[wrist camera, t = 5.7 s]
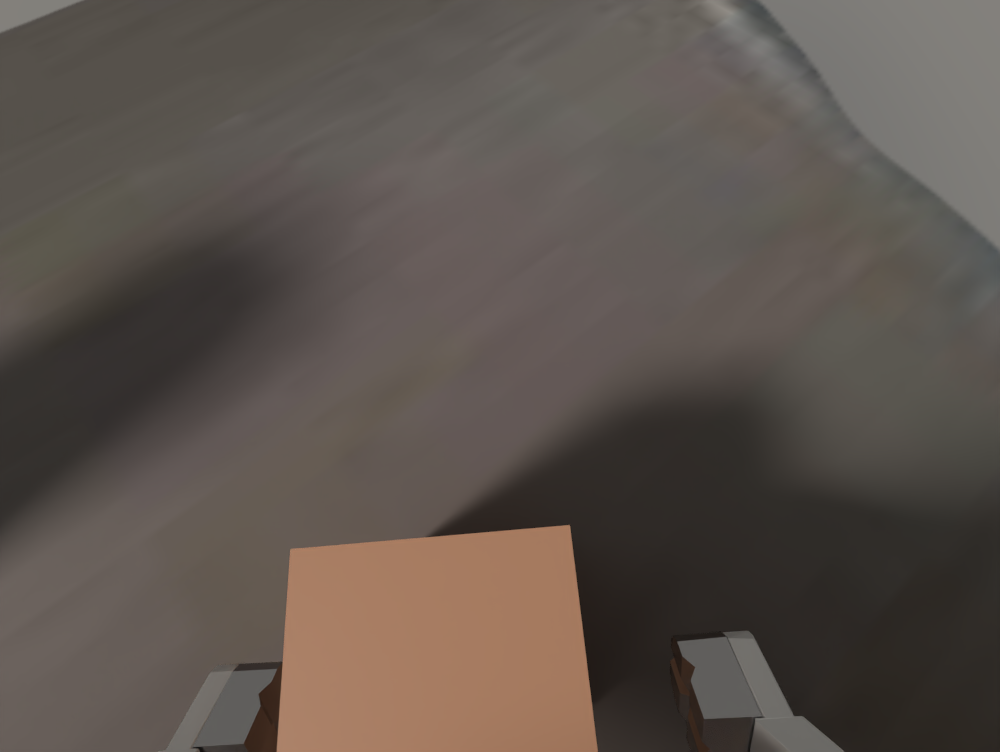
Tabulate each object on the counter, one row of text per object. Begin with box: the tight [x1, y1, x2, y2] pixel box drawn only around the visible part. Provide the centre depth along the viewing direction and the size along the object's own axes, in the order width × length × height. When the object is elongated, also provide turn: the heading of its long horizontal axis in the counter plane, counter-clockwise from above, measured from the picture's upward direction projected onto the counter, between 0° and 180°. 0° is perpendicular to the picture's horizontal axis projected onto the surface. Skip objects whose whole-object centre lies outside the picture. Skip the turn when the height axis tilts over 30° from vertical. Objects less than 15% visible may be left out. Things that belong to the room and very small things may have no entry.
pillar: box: [277, 525, 598, 752], centre depth 11 cm, size 5×5×8 cm
